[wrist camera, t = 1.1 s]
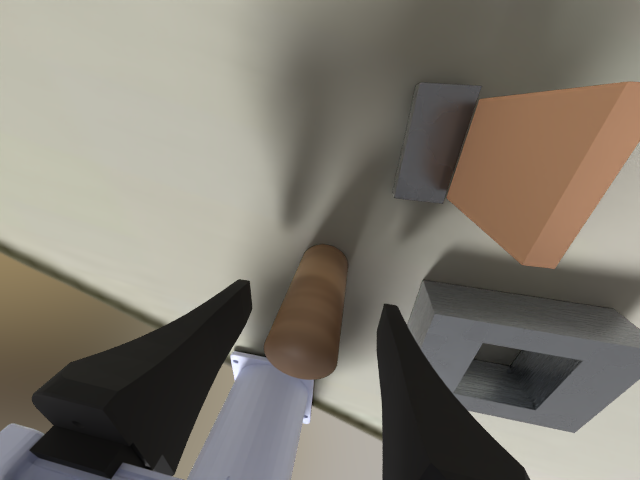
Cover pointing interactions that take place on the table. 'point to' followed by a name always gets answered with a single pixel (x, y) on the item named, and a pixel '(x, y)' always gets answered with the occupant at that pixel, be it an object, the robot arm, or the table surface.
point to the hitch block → (526, 353)
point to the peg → (310, 316)
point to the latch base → (433, 140)
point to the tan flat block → (544, 165)
